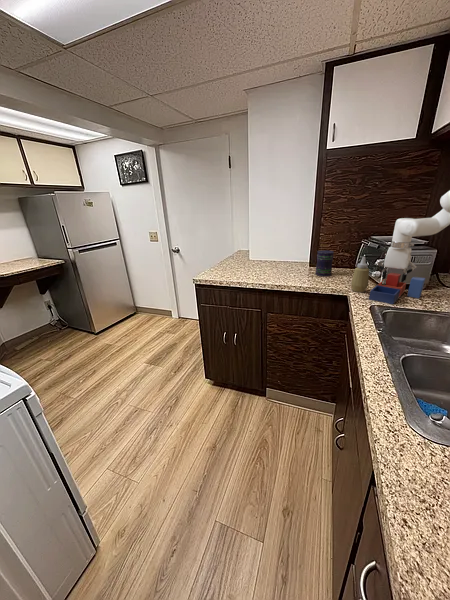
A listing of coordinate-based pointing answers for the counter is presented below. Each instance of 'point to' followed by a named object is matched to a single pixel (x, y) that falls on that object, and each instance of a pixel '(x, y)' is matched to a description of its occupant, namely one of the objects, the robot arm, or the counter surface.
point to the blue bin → (384, 294)
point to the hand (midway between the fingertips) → (393, 280)
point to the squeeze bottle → (360, 277)
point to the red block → (393, 279)
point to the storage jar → (324, 263)
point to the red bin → (401, 287)
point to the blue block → (416, 287)
